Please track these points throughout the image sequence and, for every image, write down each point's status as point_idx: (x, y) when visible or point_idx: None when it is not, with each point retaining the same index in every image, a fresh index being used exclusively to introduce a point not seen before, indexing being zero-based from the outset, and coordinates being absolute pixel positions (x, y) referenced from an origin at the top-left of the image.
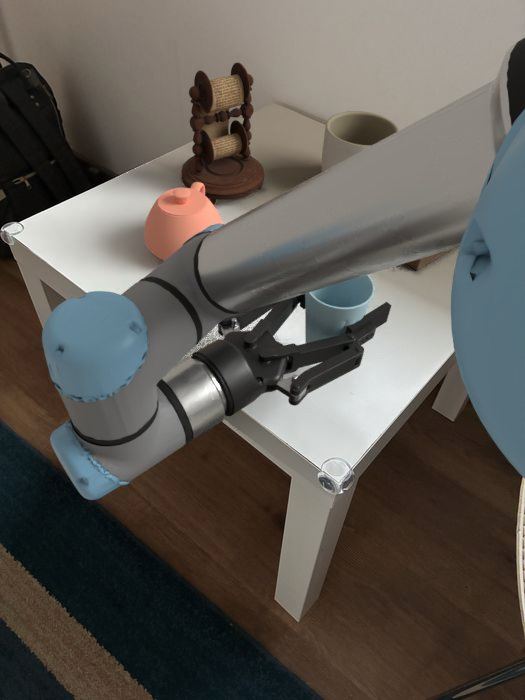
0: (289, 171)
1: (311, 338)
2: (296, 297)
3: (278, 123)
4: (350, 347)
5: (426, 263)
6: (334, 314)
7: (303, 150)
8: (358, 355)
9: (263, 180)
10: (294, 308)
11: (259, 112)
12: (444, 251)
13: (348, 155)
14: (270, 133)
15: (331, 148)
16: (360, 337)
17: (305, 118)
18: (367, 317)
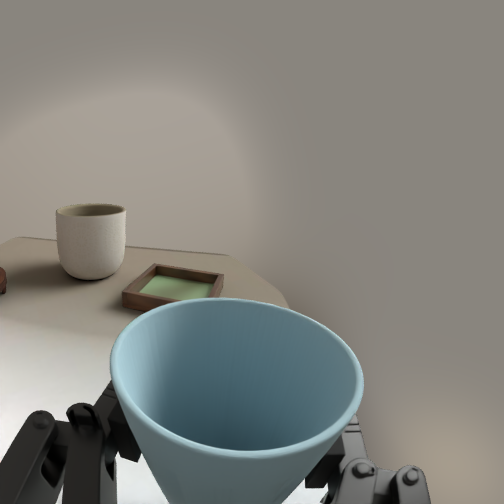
0: (31, 273)
1: None
2: (104, 446)
3: (18, 246)
4: (381, 491)
5: None
6: (316, 456)
7: (40, 257)
8: (426, 487)
9: (5, 281)
10: (115, 473)
11: (3, 243)
12: (217, 297)
13: (84, 230)
14: (12, 252)
15: (65, 229)
16: (363, 452)
17: (38, 240)
18: None
